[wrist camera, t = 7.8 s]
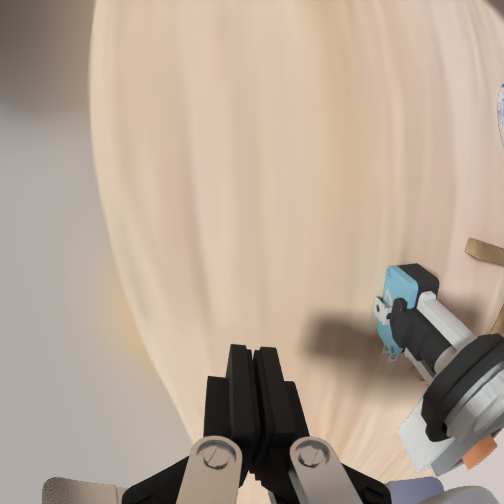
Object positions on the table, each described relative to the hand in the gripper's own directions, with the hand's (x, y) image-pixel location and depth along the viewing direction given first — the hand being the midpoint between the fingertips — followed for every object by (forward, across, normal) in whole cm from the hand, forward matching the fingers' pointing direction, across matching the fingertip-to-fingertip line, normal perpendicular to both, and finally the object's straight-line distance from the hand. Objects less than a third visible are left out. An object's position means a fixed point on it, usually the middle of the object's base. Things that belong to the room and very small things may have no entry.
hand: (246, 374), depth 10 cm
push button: (+5, -9, -1) cm, 11 cm away
